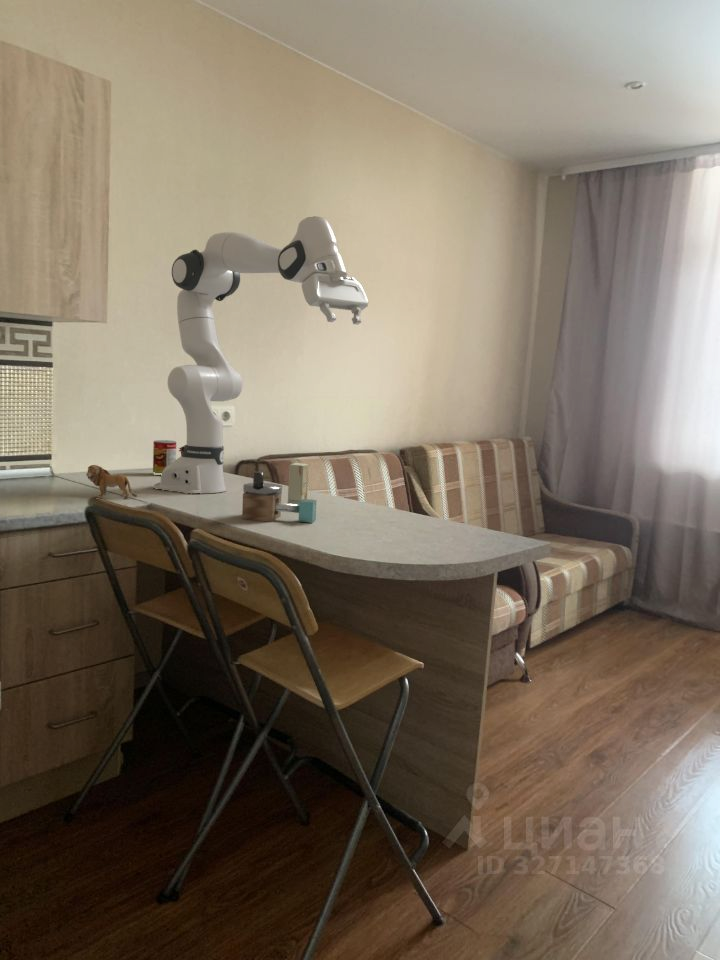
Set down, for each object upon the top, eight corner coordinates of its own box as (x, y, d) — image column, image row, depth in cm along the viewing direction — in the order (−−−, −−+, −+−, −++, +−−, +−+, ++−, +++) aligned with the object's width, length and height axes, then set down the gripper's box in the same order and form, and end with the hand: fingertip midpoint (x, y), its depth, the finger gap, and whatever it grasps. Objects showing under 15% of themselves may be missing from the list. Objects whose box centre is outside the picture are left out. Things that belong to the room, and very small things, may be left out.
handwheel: (237, 493, 186) (238, 471, 185) (250, 487, 196) (250, 467, 195) (275, 496, 184) (276, 474, 183) (286, 490, 194) (287, 469, 193)
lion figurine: (83, 496, 207) (83, 465, 206) (91, 493, 213) (91, 463, 211) (133, 499, 207) (134, 468, 205) (140, 496, 212) (140, 466, 211)
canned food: (161, 472, 264) (161, 439, 262) (180, 474, 262) (180, 441, 260) (148, 474, 257) (148, 441, 255) (167, 476, 254) (168, 442, 253)
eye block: (242, 519, 188) (243, 493, 187) (251, 513, 195) (252, 489, 195) (272, 521, 186) (273, 495, 185) (280, 516, 194) (281, 491, 193)
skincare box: (301, 507, 208) (303, 465, 207) (286, 506, 209) (288, 464, 207) (307, 504, 214) (309, 463, 213) (293, 503, 215) (295, 462, 214)
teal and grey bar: (241, 516, 190) (242, 496, 189) (246, 513, 194) (247, 494, 193) (312, 522, 187) (313, 502, 186) (315, 519, 191) (316, 500, 190)
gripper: (349, 284, 199) (364, 330, 197) (293, 276, 184) (309, 325, 182) (364, 272, 195) (380, 319, 193) (309, 263, 180) (325, 313, 178)
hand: (345, 322), depth 187 cm, fingers open, 8 cm apart
